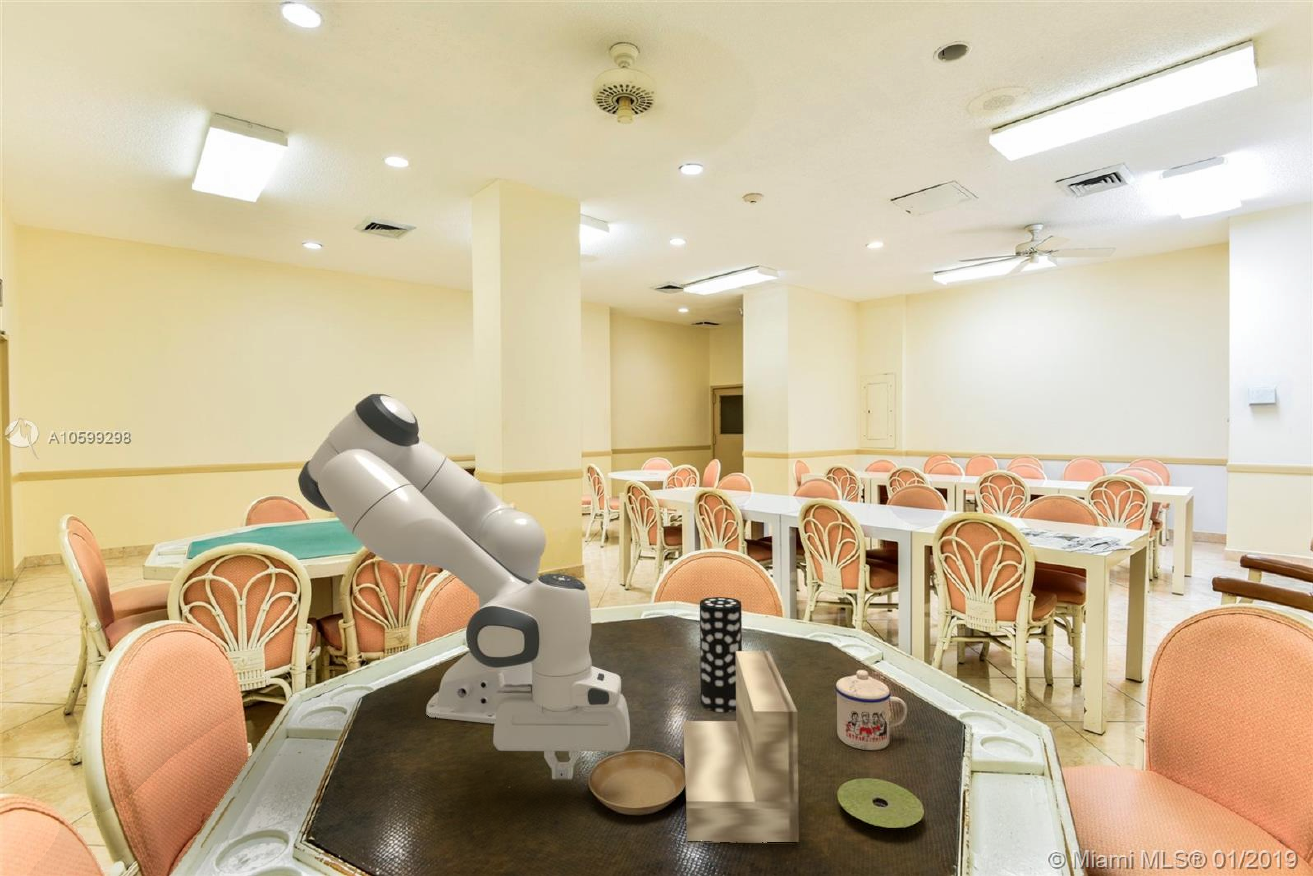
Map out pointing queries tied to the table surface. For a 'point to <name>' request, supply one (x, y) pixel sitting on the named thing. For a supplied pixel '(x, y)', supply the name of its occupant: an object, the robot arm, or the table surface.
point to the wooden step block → (745, 762)
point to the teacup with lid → (865, 711)
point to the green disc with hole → (880, 803)
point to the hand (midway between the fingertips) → (562, 777)
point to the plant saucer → (637, 781)
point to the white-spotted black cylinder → (719, 652)
